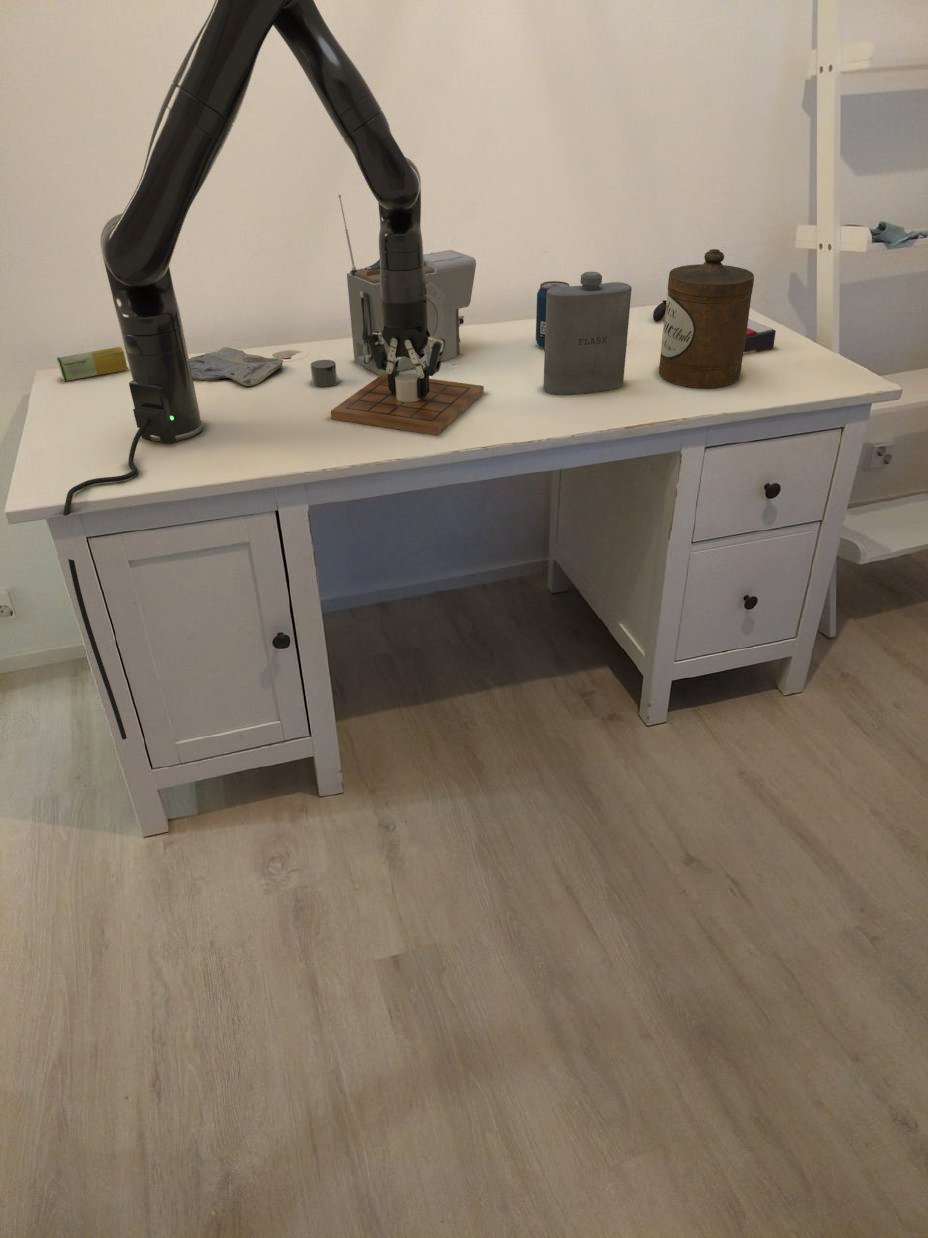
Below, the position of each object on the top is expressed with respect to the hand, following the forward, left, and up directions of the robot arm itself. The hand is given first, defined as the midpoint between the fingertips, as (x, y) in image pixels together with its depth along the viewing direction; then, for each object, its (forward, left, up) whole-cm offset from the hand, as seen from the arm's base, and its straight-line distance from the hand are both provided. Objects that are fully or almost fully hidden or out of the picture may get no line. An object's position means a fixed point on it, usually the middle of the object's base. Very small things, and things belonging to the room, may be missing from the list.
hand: (409, 394), depth 154 cm
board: (0, 0, -2) cm, 2 cm away
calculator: (+51, -46, -2) cm, 69 cm away
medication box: (-7, +64, -2) cm, 65 cm away
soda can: (+40, -13, -2) cm, 42 cm away
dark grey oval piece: (+66, -32, -2) cm, 74 cm away
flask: (+19, -26, -2) cm, 32 cm away
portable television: (+24, +11, -2) cm, 26 cm away
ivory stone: (0, 0, 0) cm, 0 cm away
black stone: (+5, +20, -2) cm, 21 cm away
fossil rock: (+3, +40, -2) cm, 40 cm away
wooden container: (+33, -44, -2) cm, 55 cm away
